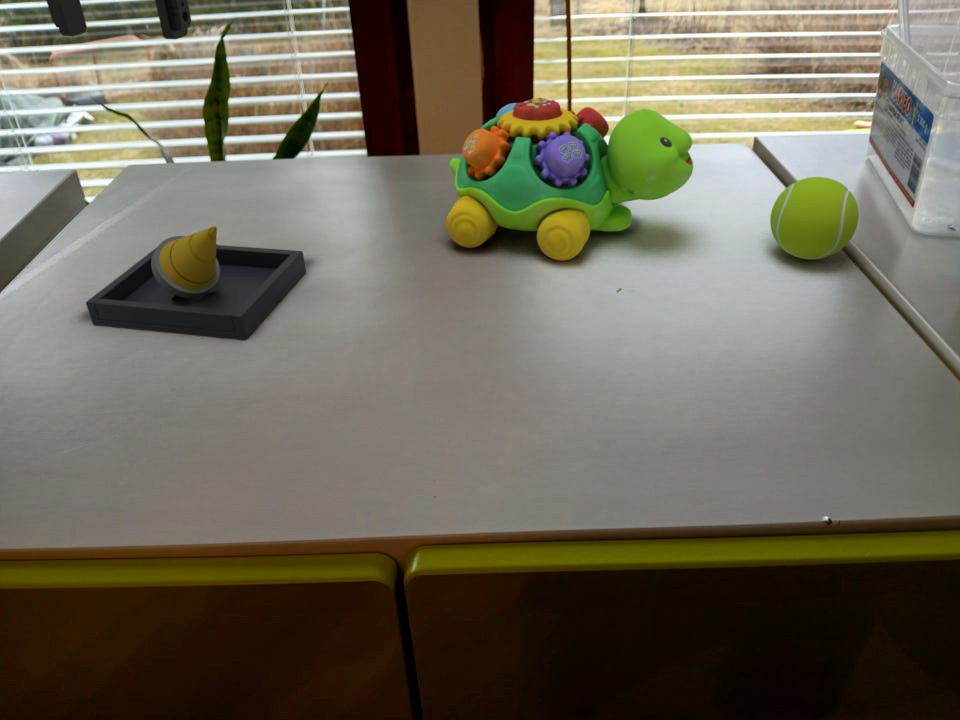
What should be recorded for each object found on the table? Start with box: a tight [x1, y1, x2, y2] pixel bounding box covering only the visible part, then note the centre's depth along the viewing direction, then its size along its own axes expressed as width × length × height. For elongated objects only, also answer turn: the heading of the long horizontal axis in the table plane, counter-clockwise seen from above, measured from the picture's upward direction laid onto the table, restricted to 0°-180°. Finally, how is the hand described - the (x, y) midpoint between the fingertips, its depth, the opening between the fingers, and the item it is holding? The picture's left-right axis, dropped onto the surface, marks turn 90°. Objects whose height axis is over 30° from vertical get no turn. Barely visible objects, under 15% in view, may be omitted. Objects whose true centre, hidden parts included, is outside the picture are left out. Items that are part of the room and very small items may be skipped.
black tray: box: [85, 244, 307, 340], centre depth 67 cm, size 14×12×2 cm
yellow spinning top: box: [151, 225, 220, 299], centre depth 65 cm, size 5×5×10 cm
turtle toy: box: [445, 97, 694, 262], centre depth 74 cm, size 17×23×12 cm
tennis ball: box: [770, 176, 859, 261], centre depth 68 cm, size 7×7×7 cm
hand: (124, 35), depth 59 cm, fingers open, 8 cm apart
